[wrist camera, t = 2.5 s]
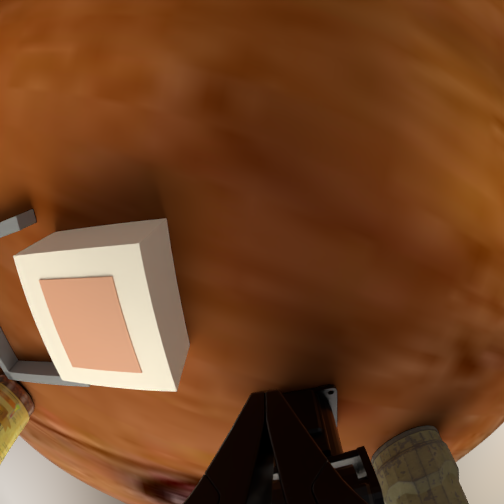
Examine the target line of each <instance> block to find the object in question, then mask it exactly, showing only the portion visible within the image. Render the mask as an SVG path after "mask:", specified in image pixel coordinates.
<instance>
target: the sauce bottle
mask: <svg viewBox="0 0 504 504" xmlns="http://www.w3.org/2000/svg"><path fill="white" fill-rule="evenodd" d="M33 411H34V404H33V402H32V400H31V398H30V396H29V394H28V393H27V392H26V391H25V390H24V389H23V388H22V387H21V386H20V385H19V384H18V383H17V382H16V381H15V380H10V379H8V378H7V376H6V375H3V374H2V375H1V374H0V464H1V462H2V461H3V459H4V457H5V456H6V454H7V452H8V451H9V449H10V448H11V446H12V445H13V443H14V442H15V440H16V439H17V437H18V436H19V434H20V433H21V431H22V430H23V428H24V427H25V425H26V424H27V422H28V420H29V417H30V416H31V414H32V413H33Z"/></svg>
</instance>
